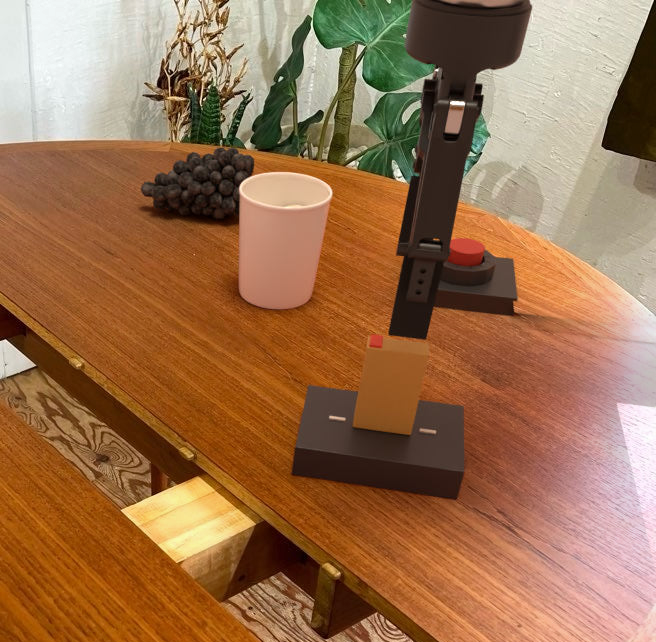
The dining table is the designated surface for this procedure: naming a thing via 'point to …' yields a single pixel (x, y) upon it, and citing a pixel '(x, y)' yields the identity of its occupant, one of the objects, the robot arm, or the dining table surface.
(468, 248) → the bell button
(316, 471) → the dark lever base block
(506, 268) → the bell block
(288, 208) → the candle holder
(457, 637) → the dining table surface
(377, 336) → the tan upright plank
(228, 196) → the fruit
